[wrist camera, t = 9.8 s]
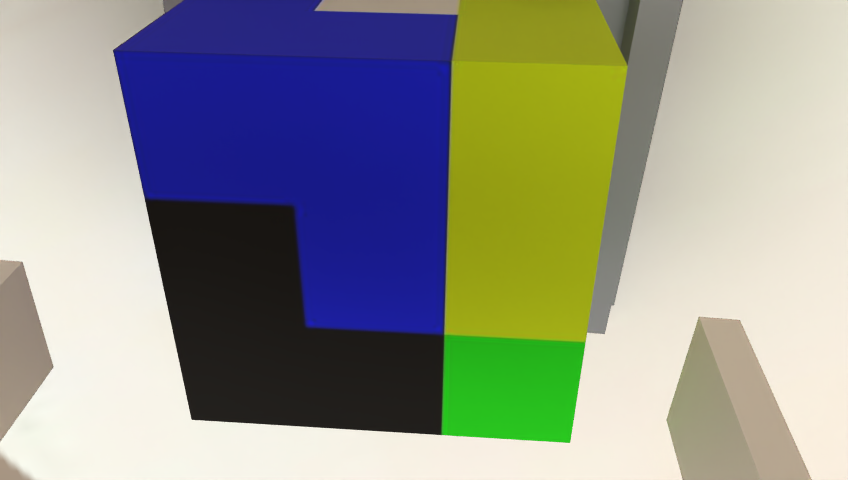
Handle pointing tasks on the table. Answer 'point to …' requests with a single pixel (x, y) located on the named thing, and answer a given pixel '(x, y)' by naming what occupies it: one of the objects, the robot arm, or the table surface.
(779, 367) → the table surface
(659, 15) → the tray
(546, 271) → the puzzle toy
